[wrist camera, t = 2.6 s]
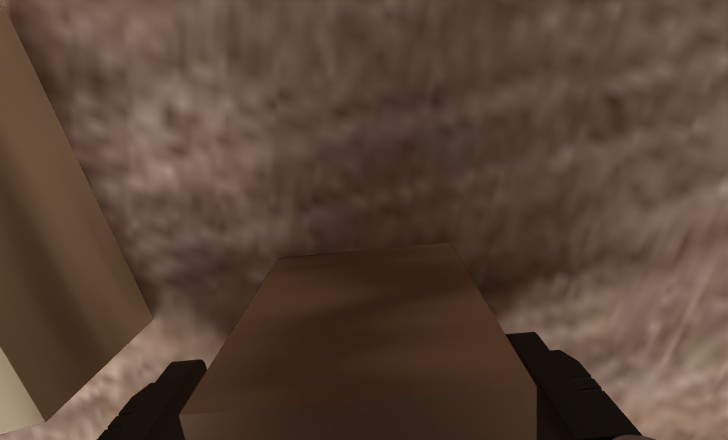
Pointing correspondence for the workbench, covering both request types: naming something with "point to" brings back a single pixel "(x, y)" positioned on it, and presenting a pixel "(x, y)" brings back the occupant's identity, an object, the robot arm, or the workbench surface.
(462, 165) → the workbench surface
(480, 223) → the workbench surface
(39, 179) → the bottom block
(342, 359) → the walnut block
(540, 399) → the robot arm
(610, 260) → the workbench surface
